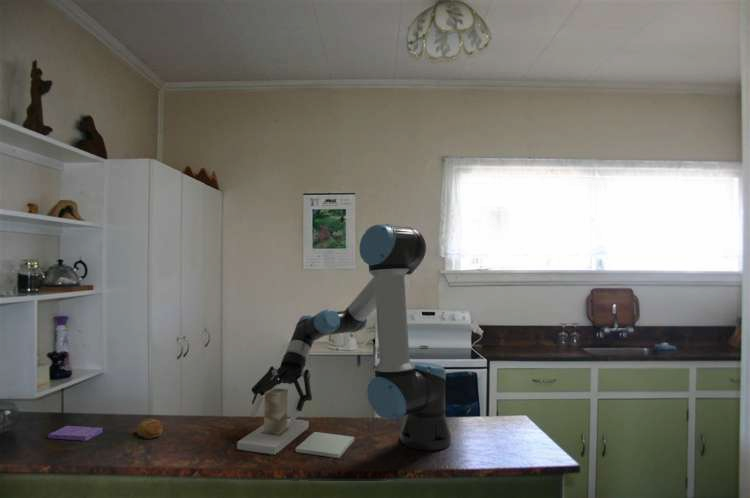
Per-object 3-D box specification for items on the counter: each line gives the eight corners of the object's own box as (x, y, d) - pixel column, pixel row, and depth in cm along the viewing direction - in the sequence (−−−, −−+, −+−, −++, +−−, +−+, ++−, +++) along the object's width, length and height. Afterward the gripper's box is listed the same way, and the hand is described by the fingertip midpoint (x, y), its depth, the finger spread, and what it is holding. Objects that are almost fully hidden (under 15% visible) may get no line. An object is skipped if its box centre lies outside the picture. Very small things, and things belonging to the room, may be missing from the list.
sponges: (85, 442, 130) (86, 435, 130) (47, 439, 132) (47, 433, 132) (103, 433, 137) (103, 427, 137) (66, 431, 139) (66, 425, 139)
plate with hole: (308, 427, 144) (308, 421, 144) (275, 454, 122) (275, 447, 123) (275, 423, 147) (275, 417, 147) (237, 449, 126) (237, 441, 126)
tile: (354, 440, 133) (354, 436, 133) (338, 458, 121) (338, 454, 121) (314, 435, 137) (314, 431, 137) (295, 451, 125) (295, 448, 125)
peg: (286, 435, 136) (287, 389, 137) (278, 441, 132) (279, 394, 132) (271, 433, 138) (273, 388, 138) (263, 439, 133) (264, 392, 134)
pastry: (168, 436, 135) (168, 423, 135) (144, 442, 130) (144, 429, 130) (157, 427, 142) (158, 415, 142) (134, 433, 137) (134, 420, 137)
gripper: (333, 366, 147) (313, 428, 132) (266, 360, 154) (240, 419, 139) (327, 353, 142) (306, 416, 127) (258, 348, 149) (230, 407, 134)
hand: (271, 417), depth 133 cm, fingers open, 13 cm apart
